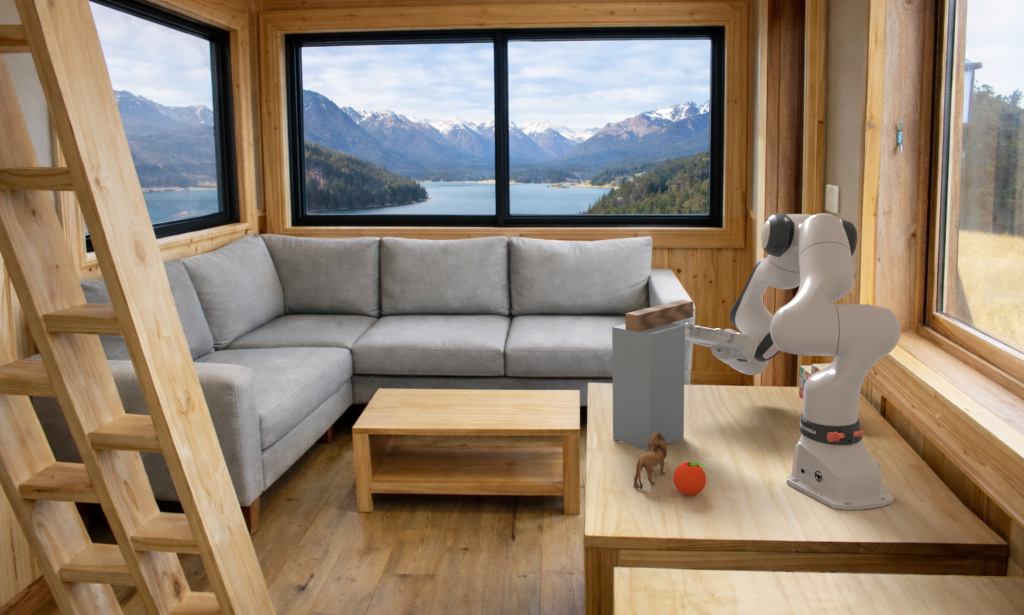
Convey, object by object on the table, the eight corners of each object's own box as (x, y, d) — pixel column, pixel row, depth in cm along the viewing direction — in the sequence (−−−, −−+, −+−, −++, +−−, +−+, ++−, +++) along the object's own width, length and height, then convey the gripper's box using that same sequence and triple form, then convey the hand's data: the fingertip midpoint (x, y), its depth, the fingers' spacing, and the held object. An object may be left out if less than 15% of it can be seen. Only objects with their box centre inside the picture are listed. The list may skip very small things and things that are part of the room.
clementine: (703, 485, 184) (704, 454, 182) (716, 498, 177) (716, 466, 175) (668, 489, 182) (668, 457, 181) (679, 502, 176) (679, 470, 174)
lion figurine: (647, 465, 196) (647, 428, 194) (670, 468, 193) (670, 431, 192) (630, 490, 182) (629, 450, 181) (654, 493, 180) (654, 453, 178)
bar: (681, 315, 218) (682, 299, 217) (692, 316, 216) (693, 301, 215) (625, 329, 204) (625, 313, 203) (636, 331, 201) (636, 315, 201)
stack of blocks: (798, 396, 243) (799, 355, 240) (820, 395, 243) (821, 354, 240) (825, 421, 222) (827, 375, 219) (849, 420, 222) (851, 375, 219)
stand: (646, 426, 221) (646, 318, 215) (683, 437, 212) (684, 325, 207) (612, 439, 213) (612, 327, 207) (650, 451, 204) (650, 334, 198)
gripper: (700, 329, 239) (673, 312, 230) (764, 340, 224) (738, 322, 215) (693, 350, 238) (666, 333, 229) (756, 363, 223) (731, 345, 214)
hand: (702, 328), depth 222 cm, fingers open, 8 cm apart
